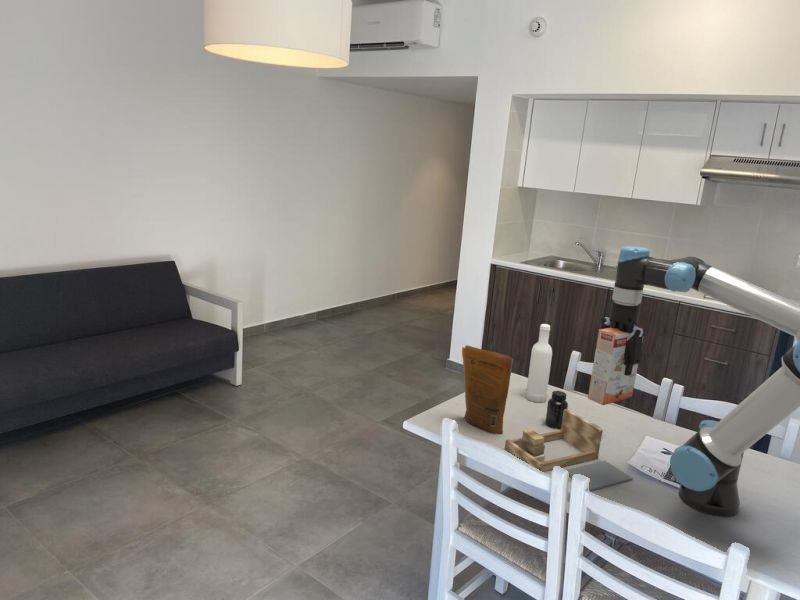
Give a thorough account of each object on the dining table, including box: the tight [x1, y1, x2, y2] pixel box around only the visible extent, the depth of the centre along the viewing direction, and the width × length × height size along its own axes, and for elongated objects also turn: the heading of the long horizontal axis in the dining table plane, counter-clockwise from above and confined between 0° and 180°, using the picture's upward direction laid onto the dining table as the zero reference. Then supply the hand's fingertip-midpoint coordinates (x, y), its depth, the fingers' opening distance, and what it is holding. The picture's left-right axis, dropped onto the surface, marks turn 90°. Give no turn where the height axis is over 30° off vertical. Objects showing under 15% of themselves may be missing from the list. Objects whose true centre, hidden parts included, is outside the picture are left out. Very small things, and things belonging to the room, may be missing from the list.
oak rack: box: [504, 409, 603, 473], centre depth 187 cm, size 16×24×10 cm, turn 118°
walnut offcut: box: [518, 437, 546, 457], centre depth 184 cm, size 7×4×3 cm, turn 33°
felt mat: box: [566, 460, 634, 492], centre depth 177 cm, size 11×17×1 cm, turn 118°
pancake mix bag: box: [461, 344, 514, 435], centre depth 201 cm, size 7×19×28 cm, turn 46°
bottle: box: [525, 323, 553, 404], centre depth 228 cm, size 8×8×30 cm
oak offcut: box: [521, 429, 545, 447], centre depth 183 cm, size 6×4×2 cm, turn 25°
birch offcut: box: [534, 454, 546, 462], centre depth 184 cm, size 8×4×3 cm, turn 28°
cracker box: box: [587, 327, 644, 406], centre depth 169 cm, size 14×6×21 cm, turn 126°
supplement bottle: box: [545, 390, 569, 430], centre depth 208 cm, size 7×7×12 cm
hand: (613, 380), depth 170 cm, fingers closed on cracker box, 6 cm apart
